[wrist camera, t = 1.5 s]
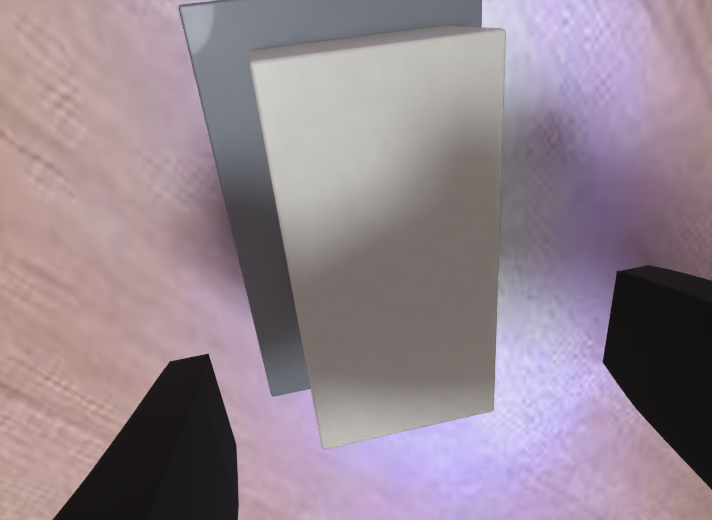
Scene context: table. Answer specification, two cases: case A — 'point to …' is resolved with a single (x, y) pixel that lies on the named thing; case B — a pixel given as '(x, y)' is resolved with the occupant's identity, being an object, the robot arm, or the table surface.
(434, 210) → the cream rectangular block
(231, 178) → the grey stack
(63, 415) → the table surface
